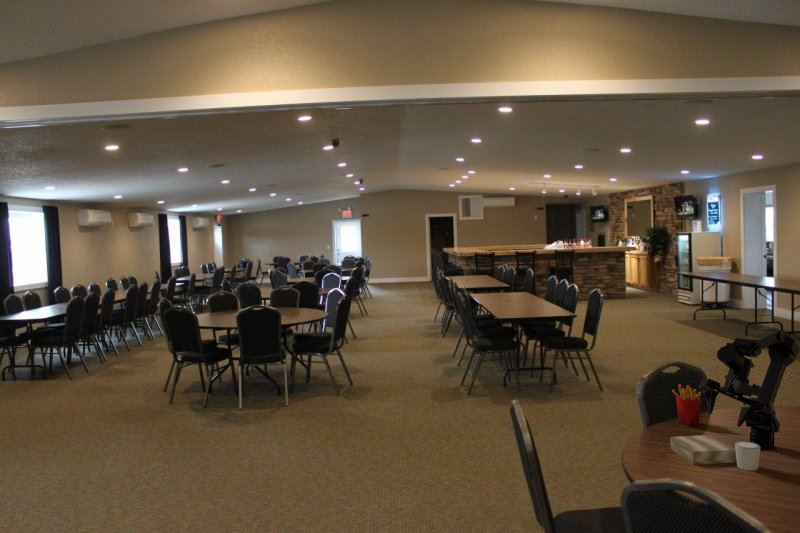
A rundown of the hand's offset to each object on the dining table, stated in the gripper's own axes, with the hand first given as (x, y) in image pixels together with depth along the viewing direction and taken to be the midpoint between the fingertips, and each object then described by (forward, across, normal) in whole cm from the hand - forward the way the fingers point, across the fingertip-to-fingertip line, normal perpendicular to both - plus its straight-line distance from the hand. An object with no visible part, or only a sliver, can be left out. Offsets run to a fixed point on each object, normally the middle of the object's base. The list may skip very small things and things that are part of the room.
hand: (724, 420), depth 190 cm
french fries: (-2, +6, +40) cm, 40 cm away
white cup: (+10, +11, +1) cm, 15 cm away
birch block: (+12, +2, +11) cm, 16 cm away
